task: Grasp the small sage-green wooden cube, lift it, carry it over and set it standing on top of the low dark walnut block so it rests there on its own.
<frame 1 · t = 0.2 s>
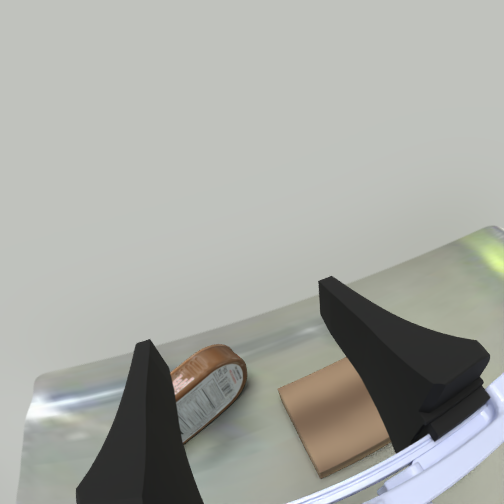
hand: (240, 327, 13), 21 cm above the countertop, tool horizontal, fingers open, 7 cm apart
tin: (200, 422, 31), on the countertop
walnut block: (354, 413, 29), on the countertop
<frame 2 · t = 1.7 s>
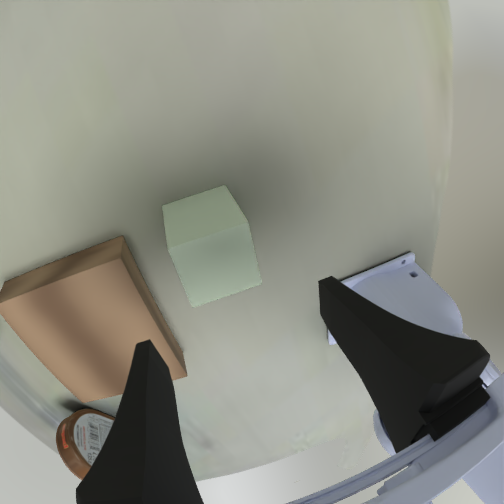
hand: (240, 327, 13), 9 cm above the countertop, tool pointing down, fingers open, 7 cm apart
tin: (120, 422, 30), on the countertop
walnut block: (96, 318, 22), on the countertop
sage cube: (202, 222, 20), on the countertop
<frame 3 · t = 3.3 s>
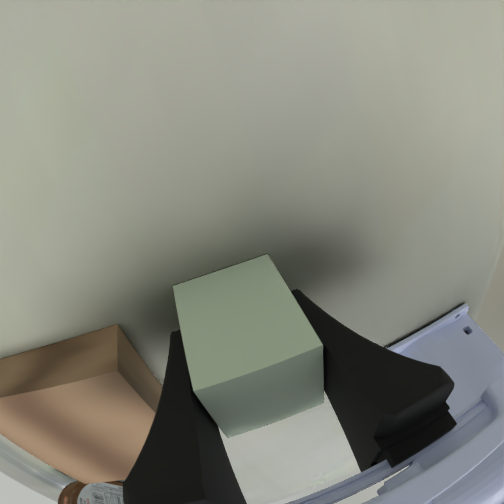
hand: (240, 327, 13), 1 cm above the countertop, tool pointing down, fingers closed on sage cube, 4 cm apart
tin: (127, 483, 24), on the countertop
walnut block: (92, 404, 16), on the countertop
sage cube: (231, 304, 14), on the countertop, touching gripper
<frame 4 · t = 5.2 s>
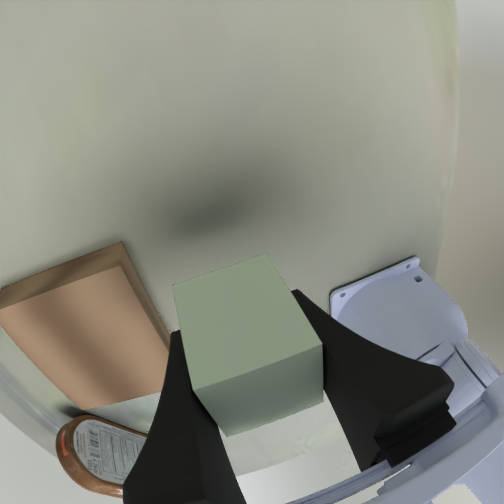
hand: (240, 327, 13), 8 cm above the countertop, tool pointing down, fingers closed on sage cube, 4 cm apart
tin: (120, 427, 30), on the countertop
walnut block: (95, 325, 22), on the countertop
sage cube: (231, 303, 14), point 7 cm above the countertop, touching gripper
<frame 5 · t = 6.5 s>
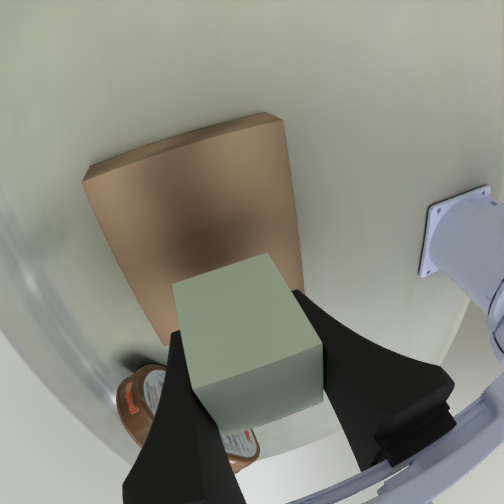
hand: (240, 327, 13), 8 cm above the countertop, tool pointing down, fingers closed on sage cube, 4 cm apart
tin: (188, 384, 28), on the countertop
walnut block: (202, 225, 20), on the countertop
sage cube: (231, 303, 14), point 7 cm above the countertop, touching gripper
when the fingers open (5 cm above the countertop, at t = 7.5 s): sage cube drops 1 cm, point 2 cm above the countertop.
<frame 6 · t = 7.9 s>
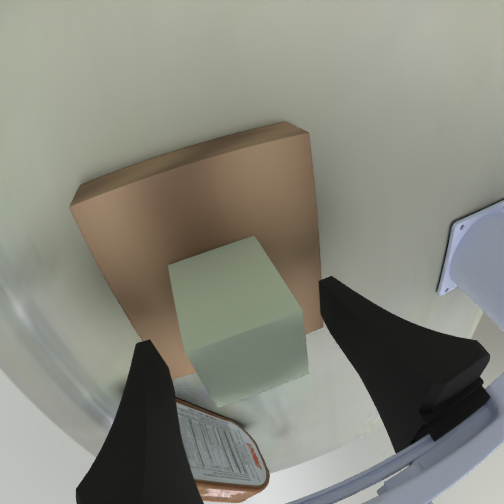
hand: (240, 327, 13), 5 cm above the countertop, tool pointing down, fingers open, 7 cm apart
tin: (194, 410, 26), on the countertop
walnut block: (211, 249, 18), on the countertop
sage cube: (222, 284, 15), point 2 cm above the countertop
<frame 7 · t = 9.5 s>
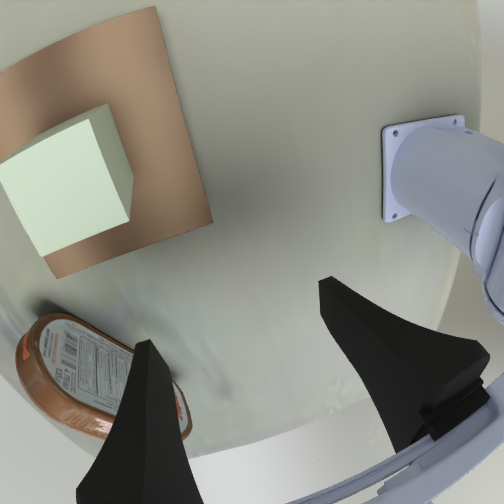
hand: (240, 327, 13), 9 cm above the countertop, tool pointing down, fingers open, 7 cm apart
tin: (111, 345, 24), on the countertop
walnut block: (96, 140, 16), on the countertop, touching sage cube
sage cube: (83, 155, 14), point 2 cm above the countertop, touching walnut block
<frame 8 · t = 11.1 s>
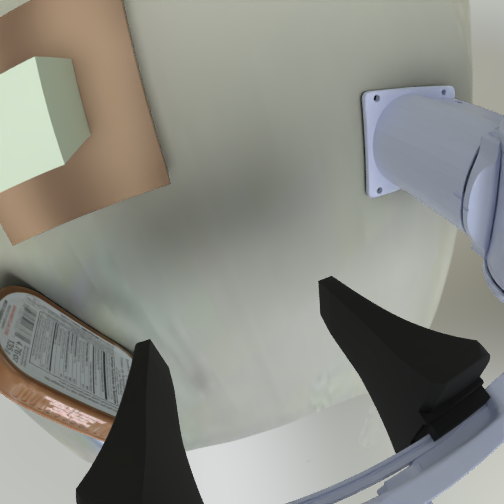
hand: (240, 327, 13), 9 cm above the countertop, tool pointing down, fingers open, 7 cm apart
tin: (75, 324, 22), on the countertop
walnut block: (58, 104, 14), on the countertop
sage cube: (43, 111, 12), point 2 cm above the countertop
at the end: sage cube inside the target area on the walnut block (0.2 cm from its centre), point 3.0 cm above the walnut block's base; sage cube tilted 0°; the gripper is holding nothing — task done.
